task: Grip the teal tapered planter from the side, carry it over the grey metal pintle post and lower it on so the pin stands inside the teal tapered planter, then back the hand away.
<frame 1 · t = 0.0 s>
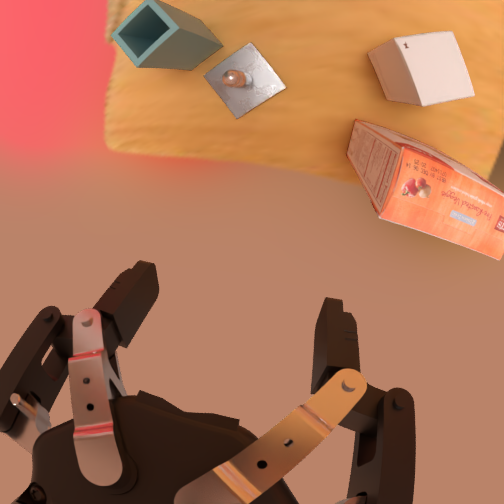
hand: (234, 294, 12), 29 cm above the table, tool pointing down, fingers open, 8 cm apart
supplement box: (399, 71, 26), on the table
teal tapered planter: (195, 44, 29), on the table
cracker box: (394, 150, 33), on the table
pintle: (245, 80, 32), on the table
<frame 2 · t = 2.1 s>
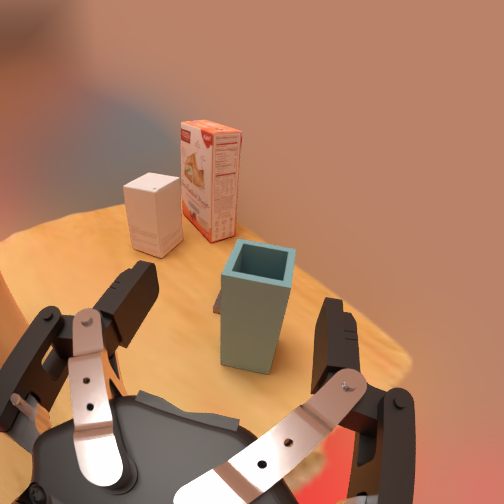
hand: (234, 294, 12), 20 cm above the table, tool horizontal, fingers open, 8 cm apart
supplement box: (157, 244, 50), on the table
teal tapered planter: (249, 350, 33), on the table
cracker box: (206, 225, 57), on the table
pintle: (247, 298, 40), on the table
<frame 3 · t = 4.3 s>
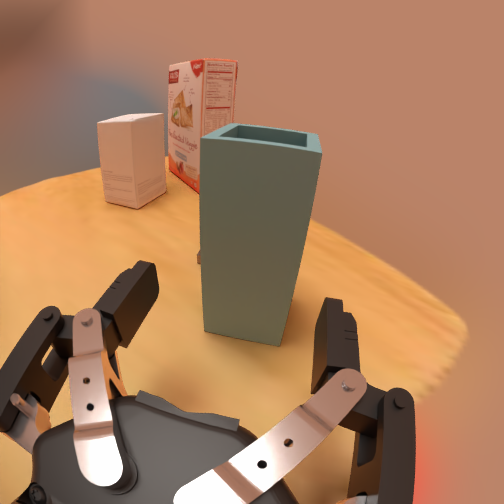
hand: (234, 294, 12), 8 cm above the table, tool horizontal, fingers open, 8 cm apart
supplement box: (135, 197, 39), on the table
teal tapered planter: (248, 312, 22), on the table
cracker box: (195, 180, 47), on the table
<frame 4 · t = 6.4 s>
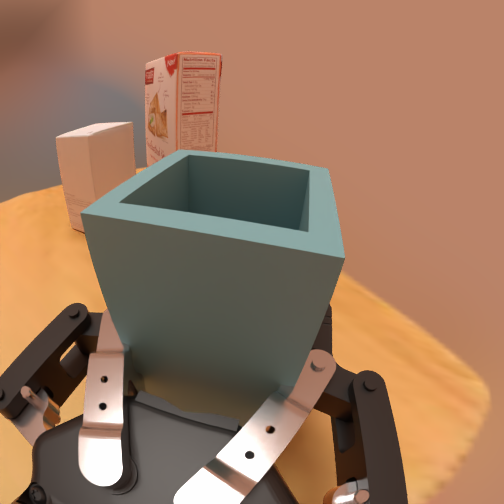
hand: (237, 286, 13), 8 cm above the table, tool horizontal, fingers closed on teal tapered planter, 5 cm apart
supplement box: (105, 222, 33), on the table
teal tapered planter: (223, 403, 15), on the table, touching gripper
cracker box: (177, 198, 40), on the table
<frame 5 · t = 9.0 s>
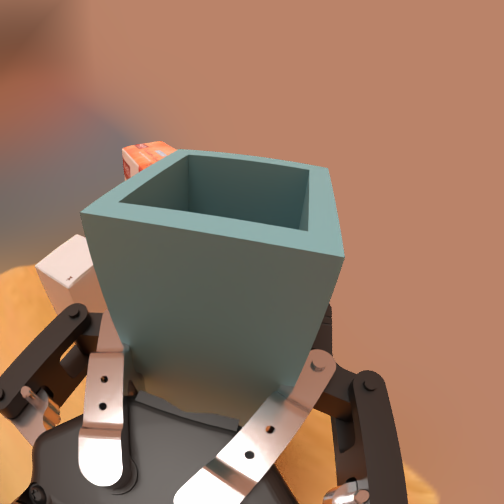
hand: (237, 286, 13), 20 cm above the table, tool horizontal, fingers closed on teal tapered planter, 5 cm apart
supplement box: (102, 333, 32), on the table
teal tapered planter: (223, 402, 15), point 12 cm above the table, touching gripper
cracker box: (171, 297, 39), on the table
when the fingers open (10 cm above the table, at t = 11.6 s): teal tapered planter drops 1 cm, resting on pintle.
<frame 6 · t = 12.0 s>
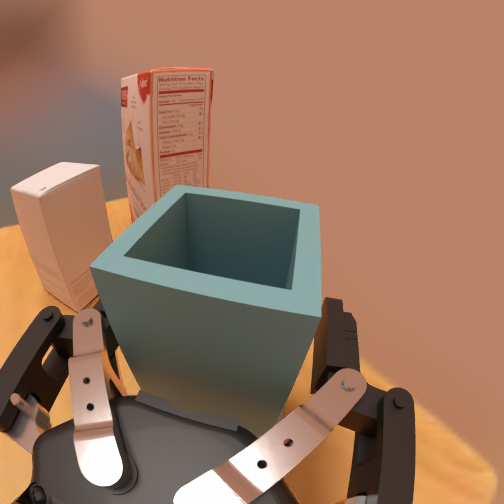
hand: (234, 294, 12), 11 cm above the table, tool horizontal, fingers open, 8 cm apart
supplement box: (81, 283, 26), on the table
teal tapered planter: (222, 412, 16), point 1 cm above the table, touching pintle
cracker box: (164, 246, 34), on the table
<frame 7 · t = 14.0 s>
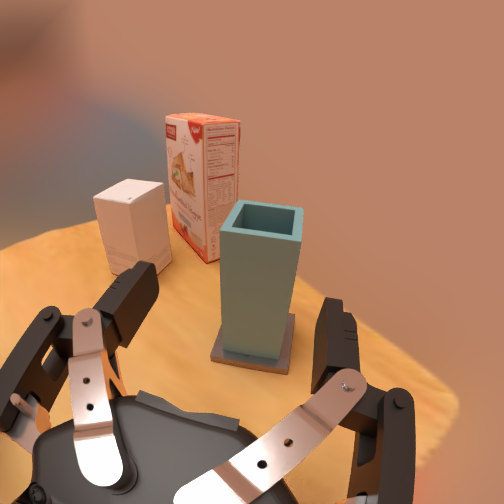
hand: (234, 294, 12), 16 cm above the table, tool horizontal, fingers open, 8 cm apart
supplement box: (141, 267, 40), on the table
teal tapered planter: (255, 334, 29), point 1 cm above the table, touching pintle
cracker box: (201, 240, 47), on the table
pintle: (255, 339, 30), on the table
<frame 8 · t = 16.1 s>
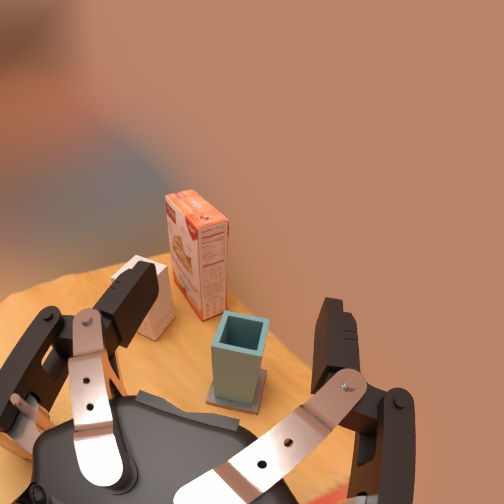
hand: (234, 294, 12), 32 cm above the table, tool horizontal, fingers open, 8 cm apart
supplement box: (151, 322, 50), on the table
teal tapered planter: (237, 385, 39), point 1 cm above the table, touching pintle
cracker box: (198, 296, 57), on the table
pintle: (237, 388, 40), on the table
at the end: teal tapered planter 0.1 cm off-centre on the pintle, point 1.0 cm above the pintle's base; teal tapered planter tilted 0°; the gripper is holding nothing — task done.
